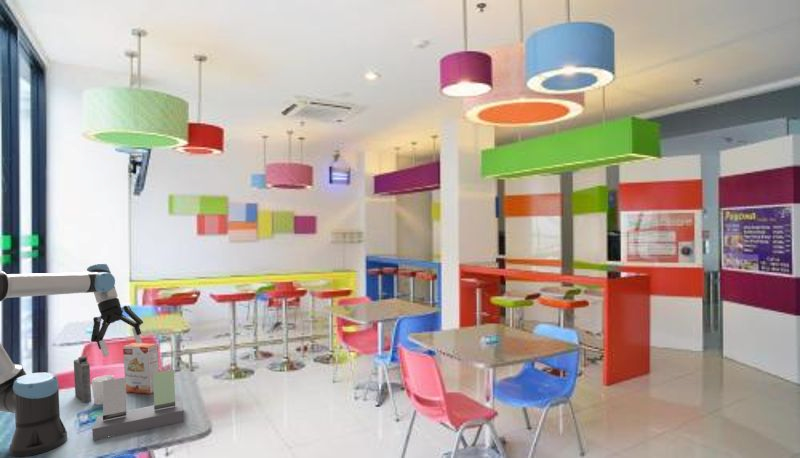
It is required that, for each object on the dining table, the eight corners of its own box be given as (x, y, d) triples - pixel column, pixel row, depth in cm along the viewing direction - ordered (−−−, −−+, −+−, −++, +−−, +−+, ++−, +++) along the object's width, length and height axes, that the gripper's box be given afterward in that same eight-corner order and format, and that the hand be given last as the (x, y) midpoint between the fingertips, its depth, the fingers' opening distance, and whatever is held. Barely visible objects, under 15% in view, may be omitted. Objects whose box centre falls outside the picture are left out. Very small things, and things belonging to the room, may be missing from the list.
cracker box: (124, 392, 199) (122, 345, 199) (136, 387, 205) (133, 342, 205) (149, 394, 195) (147, 346, 195) (160, 389, 201) (158, 343, 201)
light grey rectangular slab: (103, 420, 160) (103, 381, 165) (126, 415, 163) (126, 378, 168) (102, 419, 159) (103, 381, 164) (125, 415, 162) (125, 377, 167)
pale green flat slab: (154, 410, 167) (153, 373, 172) (175, 406, 171) (173, 370, 176) (154, 409, 166) (153, 372, 171) (175, 405, 169) (173, 369, 174)
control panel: (97, 427, 164) (97, 416, 164) (182, 409, 177) (182, 399, 177) (92, 440, 153) (92, 429, 153) (183, 421, 166) (183, 410, 166)
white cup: (119, 398, 193) (118, 374, 193) (105, 405, 185) (104, 381, 185) (102, 398, 194) (101, 375, 194) (88, 405, 186) (86, 381, 186)
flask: (84, 393, 201) (82, 353, 201) (94, 400, 191) (92, 358, 191) (74, 395, 198) (72, 355, 198) (84, 403, 189) (82, 360, 188)
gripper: (142, 289, 190) (157, 337, 188) (83, 311, 188) (98, 359, 185) (132, 289, 183) (148, 338, 180) (71, 312, 180) (86, 362, 178)
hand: (123, 349), depth 183 cm, fingers open, 13 cm apart
